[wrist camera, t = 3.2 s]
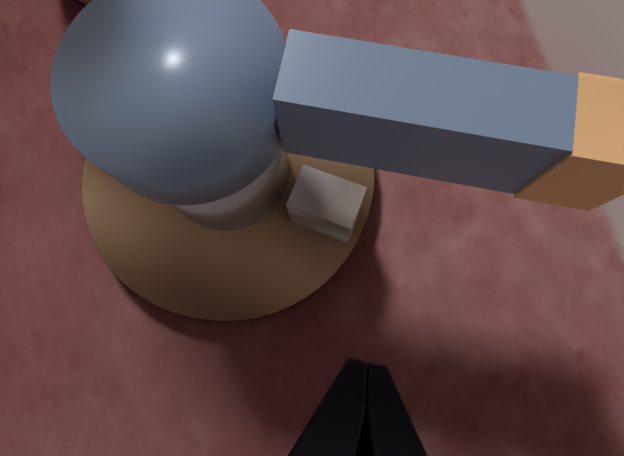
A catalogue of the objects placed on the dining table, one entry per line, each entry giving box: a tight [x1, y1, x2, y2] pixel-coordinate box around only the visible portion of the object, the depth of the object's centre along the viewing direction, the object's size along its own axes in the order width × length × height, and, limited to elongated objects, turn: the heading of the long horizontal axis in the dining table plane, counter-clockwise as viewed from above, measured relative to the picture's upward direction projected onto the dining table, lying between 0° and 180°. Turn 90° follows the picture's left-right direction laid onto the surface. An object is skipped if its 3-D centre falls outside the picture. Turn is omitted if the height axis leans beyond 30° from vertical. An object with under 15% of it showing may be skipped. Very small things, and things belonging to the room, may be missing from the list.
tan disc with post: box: [82, 147, 375, 321], centre depth 17 cm, size 12×12×6 cm
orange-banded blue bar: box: [51, 0, 624, 211], centre depth 12 cm, size 14×6×3 cm, turn 79°
